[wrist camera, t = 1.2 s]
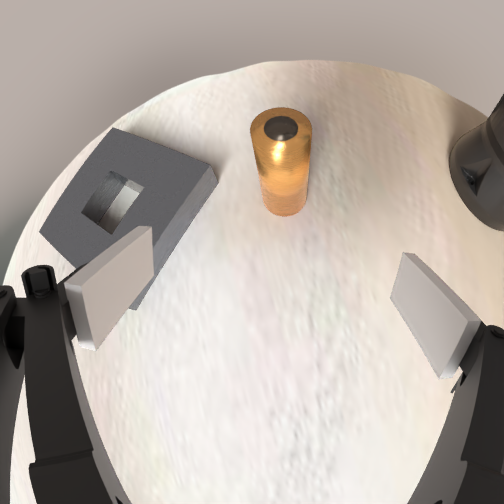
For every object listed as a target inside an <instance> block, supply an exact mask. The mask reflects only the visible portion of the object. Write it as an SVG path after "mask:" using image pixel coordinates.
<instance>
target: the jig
mask: <svg viewBox="0 0 504 504" xmlns="http://www.w3.org/2000/svg"><path fill="white" fill-rule="evenodd" d="M217 184H218V181H217V179H216V177H215V174H214V172H213V170H212V167H211V165H209V164H207V163H204V162H202V161H199V160H197V159H195V158H192V157H190V156H187V155H185V154H182V153H180V152H177V151H175V150H172V149H170V148H167V147H165V146H162V145H159V144H157V143H154V142H152V141H149V140H146V139H144V138H141V137H138V136H135V135H133V134H130V133H127V132H124V131H122V130H119V129H116V128H112V129H111V130H110V131H109V132H108V133H107V135H106V136H105V137H104V138H103V139H102V141H101V142H100V143H99V144H98V146H97V147H96V148H95V149H94V151H93V152H92V153H91V155H90V156H89V157H88V158H87V160H86V161H85V162H84V164H83V165H82V166H81V168H80V169H79V171H78V172H77V173H76V175H75V176H74V178H73V179H72V180H71V182H70V183H69V185H68V186H67V188H66V189H65V191H64V192H63V194H62V195H61V197H60V198H59V200H58V201H57V203H56V204H55V206H54V208H53V209H52V211H51V212H50V214H49V216H48V217H47V219H46V221H45V222H44V224H43V226H42V227H41V229H40V231H39V232H40V233H41V234H42V235H43V236H44V238H45V239H46V240H47V241H48V242H49V243H50V244H51V245H52V246H53V247H54V248H55V249H56V250H57V251H58V252H59V253H60V254H61V255H62V256H63V257H64V258H66V259H67V260H68V261H69V262H70V263H71V264H72V265H73V266H74V267H75V268H76V269H77V268H78V267H80V266H81V265H83V264H86V263H88V262H91V261H92V260H93V259H94V258H96V257H97V256H98V255H100V254H101V253H102V252H104V251H105V250H106V249H108V248H109V247H110V246H112V245H113V244H114V243H116V242H117V241H118V240H120V239H121V238H122V237H124V236H125V235H126V234H128V233H129V232H131V231H132V230H133V229H135V228H136V227H138V226H147V227H152V246H153V267H154V276H153V277H152V279H151V280H150V281H149V282H148V284H147V285H146V286H145V287H144V289H143V290H142V291H141V292H140V294H139V295H138V296H137V297H136V299H135V300H134V301H133V303H132V304H131V305H130V306H129V309H132V310H137V308H138V306H139V305H140V303H141V301H142V300H143V298H144V296H145V295H146V293H147V291H148V290H149V288H150V286H151V285H152V283H153V281H154V280H155V278H156V277H157V275H158V273H159V272H160V270H161V268H162V267H163V265H164V264H165V262H166V261H167V259H168V257H169V256H170V254H171V253H172V251H173V250H174V248H175V246H176V245H177V243H178V242H179V240H180V239H181V237H182V236H183V234H184V233H185V231H186V230H187V228H188V227H189V225H190V224H191V222H192V221H193V219H194V218H195V216H196V215H197V213H198V212H199V210H200V209H201V207H202V206H203V204H204V203H205V202H206V200H207V199H208V197H209V196H210V194H211V193H212V191H213V190H214V189H215V187H216V186H217ZM124 185H126V186H128V187H130V188H131V189H133V190H135V191H137V192H139V193H140V194H139V195H138V197H137V198H136V200H135V201H134V202H133V204H132V205H131V207H130V208H129V210H128V211H127V213H126V214H125V215H124V217H123V218H122V220H121V221H120V223H119V225H118V226H117V228H116V229H115V231H114V232H113V234H112V235H111V234H110V233H108V232H107V231H106V230H104V229H103V228H102V227H100V226H99V225H97V224H98V223H99V221H100V220H101V218H102V217H103V215H104V214H105V212H106V211H107V209H108V208H109V206H110V205H111V203H112V202H113V200H114V199H115V198H116V196H117V195H118V193H119V192H120V190H121V189H122V188H123V186H124Z"/></svg>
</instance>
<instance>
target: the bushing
mask: <svg viewBox="0 0 504 504" xmlns="http://www.w3.org/2000/svg"><path fill="white" fill-rule="evenodd" d="M250 133H251V138H252V143H253V149H254V154H255V159H256V164H257V170H258V175H259V180H260V186H261V191H262V196H263V201H264V204H265V206H266V208H267V209H268V210H269V211H270V212H271V213H273V214H275V215H278V216H291V215H294V214H296V213H298V212H299V211H300V210H301V209H302V208H303V207H304V205H305V202H306V195H307V185H308V174H309V162H310V149H311V136H312V127H311V123H310V121H309V120H308V118H307V117H306V116H305V115H304V114H302V113H301V112H299V111H297V110H294V109H290V108H272V109H269V110H266V111H264V112H262V113H260V114H259V115H258V116H257V117H256V118H255V119H254V120H253V122H252V124H251V127H250Z"/></svg>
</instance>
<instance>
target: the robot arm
mask: <svg viewBox="0 0 504 504" xmlns="http://www.w3.org/2000/svg"><path fill="white" fill-rule="evenodd" d="M449 162H450V172H451V176H452V179H453V182H454V185H455V187H456V189H457V191H458V193H459V195H460V197H461V198H462V200H463V201H464V203H465V204H466V206H467V207H468V208H469V209H470V211H471V212H472V213H473V214H474V215H475V216H476V217H477V218H478V219H479V220H480V221H482V222H483V223H484V224H486V225H487V226H489V227H491V228H493V229H496V230H499V231H504V94H503V96H502V97H501V99H500V101H499V103H498V104H497V106H496V107H495V109H494V110H493V112H492V114H491V115H490V117H489V118H488V119H487V121H486V122H484V123H483V124H481V125H479V126H478V127H476V128H474V129H473V130H471V131H469V132H468V133H466V134H464V135H463V136H462V137H461V138H460V139H459V140H458V141H457V143H456V144H455V146H454V147H453V149H452V151H451V154H450V161H449ZM153 276H154V267H153V246H152V227H147V226H138V227H136V228H135V229H133V230H132V231H131V232H129V233H128V234H126V235H125V236H124V237H122V238H121V239H120V240H118V241H117V242H116V243H114V244H113V245H112V246H110V247H109V248H108V249H106V250H105V251H104V252H102V253H101V254H100V255H98V256H97V257H96V258H94V259H93V260H92V261H91V262H88V263H86V264H83V265H81V266H80V267H78V268H77V269H76V270H74V272H72V273H71V274H69V276H67V277H66V278H64V279H63V280H62V281H61V282H59V283H58V284H57V283H56V278H55V273H54V269H53V267H51V266H49V265H37V266H34V267H31V268H29V269H27V270H25V271H24V272H23V273H22V275H21V277H22V281H23V285H24V289H25V293H26V296H27V297H26V298H16V297H15V293H14V290H13V288H12V287H11V286H6V285H4V286H0V504H10V469H11V454H12V444H13V435H14V427H15V421H16V414H17V408H18V403H19V398H20V393H21V388H22V383H23V379H24V375H25V385H26V398H27V408H28V416H29V423H30V430H31V436H32V442H33V447H34V452H35V459H36V460H35V463H30V465H29V475H30V480H31V484H32V488H33V492H34V495H35V499H36V502H37V504H132V503H131V502H130V500H129V498H128V497H127V495H126V493H125V491H124V489H123V487H122V485H121V483H120V481H119V479H118V477H117V475H116V473H115V471H114V468H113V466H112V464H111V462H110V459H109V457H108V455H107V452H106V450H105V447H104V445H103V442H102V440H101V437H100V435H99V432H98V429H97V427H96V424H95V421H94V418H93V415H92V412H91V409H90V406H89V403H88V400H87V397H86V393H85V390H84V387H83V383H82V379H81V376H80V372H79V368H78V364H77V360H76V356H75V352H74V347H73V344H72V341H71V340H72V339H73V338H74V337H75V335H76V334H77V338H78V341H79V344H80V347H83V348H87V349H90V350H94V351H97V349H98V348H99V347H100V345H101V344H102V342H103V341H104V340H105V338H106V337H107V336H108V334H109V333H110V332H111V330H112V329H113V328H114V326H115V325H116V324H117V322H118V321H119V320H120V318H121V317H122V316H123V314H124V313H125V312H126V310H127V309H128V308H129V306H130V305H131V304H132V303H133V301H134V300H135V299H136V297H137V296H138V295H139V294H140V292H141V291H142V290H143V289H144V287H145V286H146V285H147V284H148V282H149V281H150V280H151V279H152V277H153ZM390 299H391V300H392V302H393V303H394V305H395V307H396V308H397V310H398V311H399V313H400V314H401V316H402V318H403V319H404V321H405V322H406V324H407V326H408V327H409V329H410V330H411V332H412V334H413V335H414V337H415V339H416V340H417V342H418V344H419V345H420V347H421V349H422V350H423V352H424V354H425V356H426V357H427V359H428V361H429V363H430V364H431V366H432V368H433V370H434V371H435V373H436V375H437V377H438V379H444V378H452V377H453V376H454V374H455V372H456V370H457V369H458V367H459V366H460V367H461V369H462V371H463V372H462V374H461V376H460V377H459V379H458V381H457V382H456V384H455V386H454V387H453V389H452V390H451V393H453V392H454V390H455V393H454V397H453V400H452V403H451V406H450V409H449V412H448V415H447V418H446V421H445V424H444V426H443V429H442V432H441V434H440V437H439V439H438V442H437V444H436V447H435V449H434V451H433V454H432V456H431V458H430V460H429V463H428V465H427V467H426V469H425V471H424V473H423V475H422V477H421V479H420V481H419V483H418V485H417V487H416V489H415V491H414V493H413V495H412V496H411V498H410V500H409V502H408V503H407V504H504V330H503V329H502V328H500V327H497V326H494V325H488V326H486V325H485V324H484V323H483V322H482V321H481V319H480V318H479V317H478V316H477V315H476V314H475V313H474V312H473V311H472V310H471V309H470V308H469V307H468V305H467V304H466V303H465V302H464V301H463V300H462V299H461V298H460V297H459V296H458V295H457V294H456V293H455V292H454V291H453V290H452V289H451V288H450V287H449V286H448V285H447V284H446V283H445V282H444V281H443V280H442V279H441V278H440V277H439V276H438V275H437V274H436V273H435V272H434V271H433V270H431V269H430V268H429V267H428V266H427V265H426V264H425V263H424V262H423V261H422V260H421V259H420V258H419V257H418V256H416V255H415V254H412V253H404V252H403V254H402V258H401V262H400V265H399V269H398V273H397V276H396V280H395V283H394V287H393V290H392V293H391V296H390Z"/></svg>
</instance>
